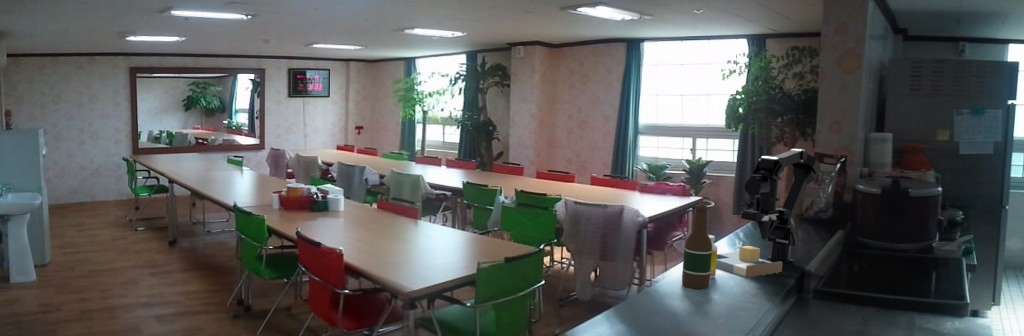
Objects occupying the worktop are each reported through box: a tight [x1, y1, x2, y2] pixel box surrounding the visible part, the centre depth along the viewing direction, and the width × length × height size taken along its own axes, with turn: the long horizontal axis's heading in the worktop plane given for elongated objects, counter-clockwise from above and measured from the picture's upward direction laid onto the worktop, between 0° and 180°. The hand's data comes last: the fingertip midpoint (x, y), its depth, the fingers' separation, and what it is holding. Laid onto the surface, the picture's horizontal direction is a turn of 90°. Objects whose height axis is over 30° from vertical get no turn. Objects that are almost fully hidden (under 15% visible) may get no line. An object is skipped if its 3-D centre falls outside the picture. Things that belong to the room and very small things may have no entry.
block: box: [738, 245, 761, 262], centre depth 220 cm, size 4×4×4 cm
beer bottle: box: [681, 204, 712, 290], centre depth 192 cm, size 8×8×24 cm
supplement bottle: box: [708, 234, 718, 280], centre depth 205 cm, size 7×7×13 cm
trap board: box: [716, 251, 784, 278], centre depth 219 cm, size 16×19×4 cm
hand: (764, 239), depth 224 cm, fingers closed
